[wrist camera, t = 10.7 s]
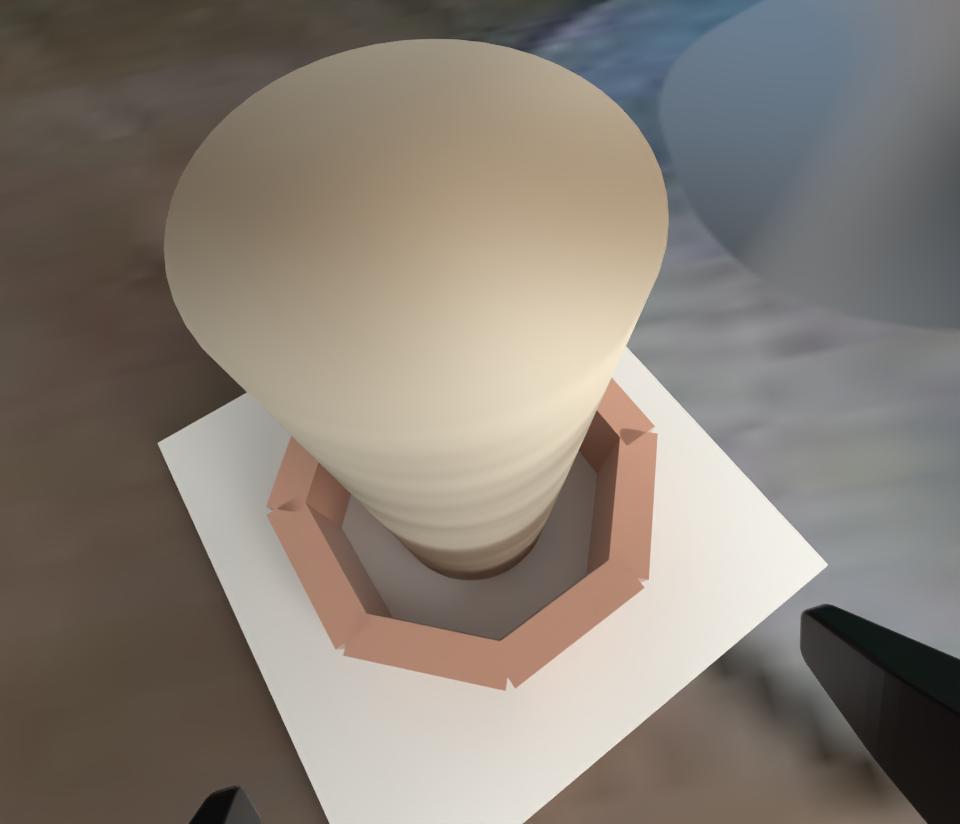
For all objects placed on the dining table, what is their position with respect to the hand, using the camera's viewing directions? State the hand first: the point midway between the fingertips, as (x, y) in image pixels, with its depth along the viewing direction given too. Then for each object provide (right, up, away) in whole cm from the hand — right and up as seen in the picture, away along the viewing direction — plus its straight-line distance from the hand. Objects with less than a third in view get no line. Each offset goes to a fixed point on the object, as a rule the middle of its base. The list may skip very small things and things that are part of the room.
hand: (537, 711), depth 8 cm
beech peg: (-1, +2, +9) cm, 9 cm away
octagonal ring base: (-1, +1, +10) cm, 10 cm away
